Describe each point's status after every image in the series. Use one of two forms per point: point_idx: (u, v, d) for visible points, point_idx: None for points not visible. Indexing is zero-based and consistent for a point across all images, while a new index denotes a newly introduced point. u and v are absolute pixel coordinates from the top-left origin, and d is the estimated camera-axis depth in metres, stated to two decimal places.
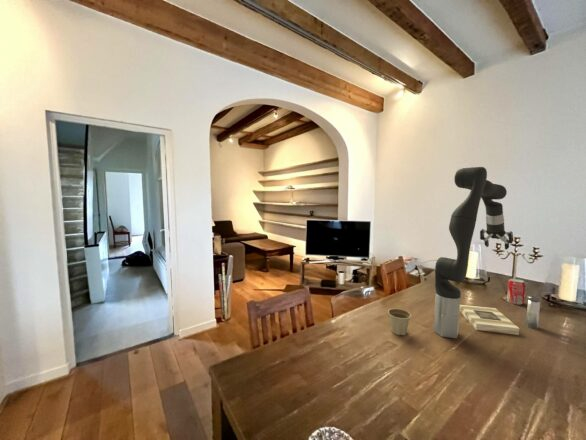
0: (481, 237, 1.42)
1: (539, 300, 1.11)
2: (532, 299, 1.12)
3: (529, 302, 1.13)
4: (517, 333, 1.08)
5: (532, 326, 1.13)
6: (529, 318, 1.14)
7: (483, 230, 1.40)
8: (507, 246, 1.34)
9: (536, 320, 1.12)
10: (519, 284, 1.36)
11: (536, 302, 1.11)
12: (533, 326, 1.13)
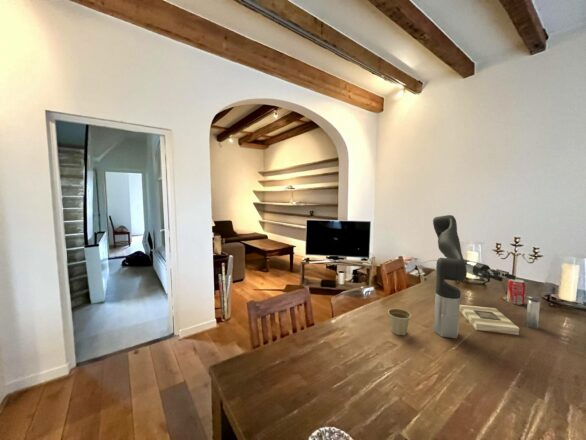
0: (486, 273, 1.28)
1: (539, 300, 1.11)
2: (532, 299, 1.12)
3: (529, 302, 1.13)
4: (517, 333, 1.08)
5: (532, 326, 1.13)
6: (529, 318, 1.14)
7: None
8: None
9: (536, 320, 1.12)
10: (519, 284, 1.36)
11: (536, 302, 1.11)
12: (533, 326, 1.13)
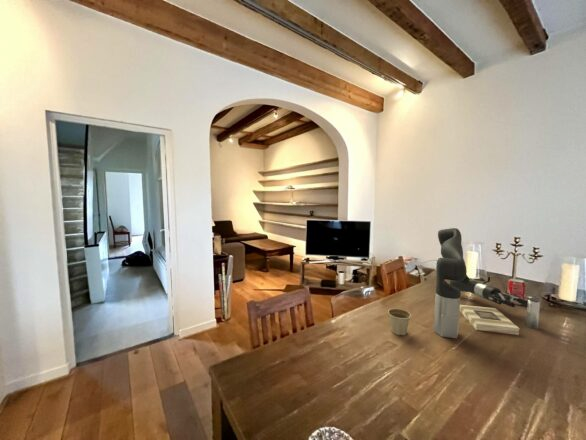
0: (498, 298, 1.22)
1: (539, 300, 1.11)
2: (532, 299, 1.12)
3: (529, 302, 1.13)
4: (517, 333, 1.08)
5: (532, 326, 1.13)
6: (529, 318, 1.14)
7: None
8: None
9: (536, 320, 1.12)
10: (519, 284, 1.36)
11: (536, 302, 1.11)
12: (533, 326, 1.13)
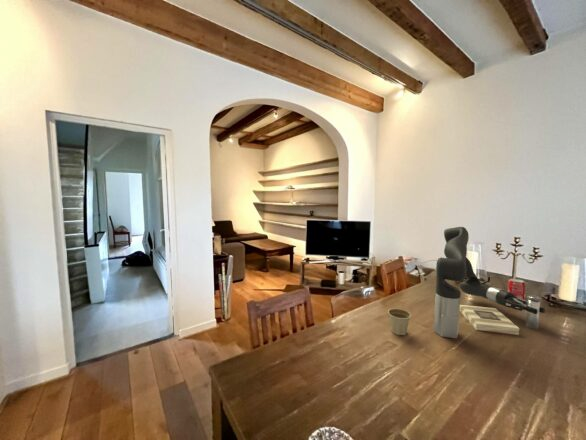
0: (518, 304, 1.15)
1: (539, 300, 1.11)
2: (532, 299, 1.12)
3: (529, 302, 1.13)
4: (517, 333, 1.08)
5: (532, 326, 1.13)
6: (529, 318, 1.14)
7: None
8: None
9: (536, 320, 1.12)
10: (519, 284, 1.36)
11: (536, 302, 1.11)
12: (533, 326, 1.13)
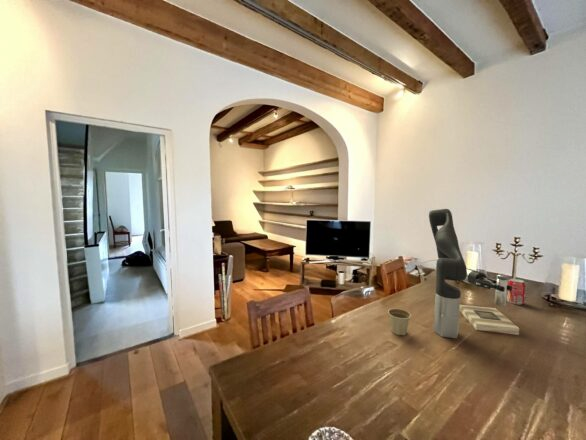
0: (486, 283, 1.18)
1: (506, 278, 1.13)
2: (500, 277, 1.14)
3: (497, 280, 1.16)
4: (517, 333, 1.08)
5: (500, 304, 1.15)
6: (497, 296, 1.16)
7: None
8: None
9: (504, 298, 1.14)
10: (519, 284, 1.36)
11: (503, 280, 1.14)
12: (501, 304, 1.15)
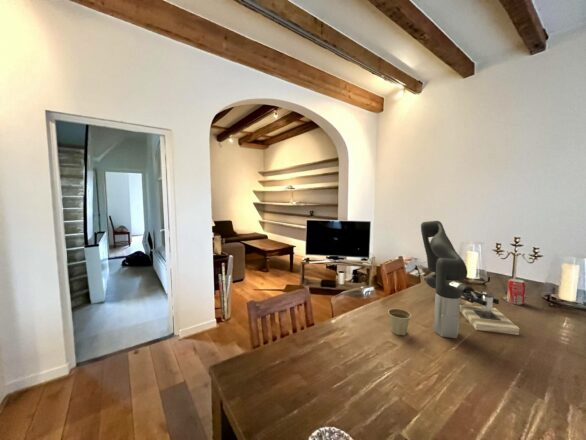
0: (470, 297, 1.20)
1: (492, 295, 1.16)
2: (485, 294, 1.17)
3: (483, 297, 1.18)
4: (517, 333, 1.08)
5: None
6: (483, 313, 1.19)
7: None
8: None
9: (489, 315, 1.17)
10: (519, 284, 1.36)
11: (489, 297, 1.16)
12: None
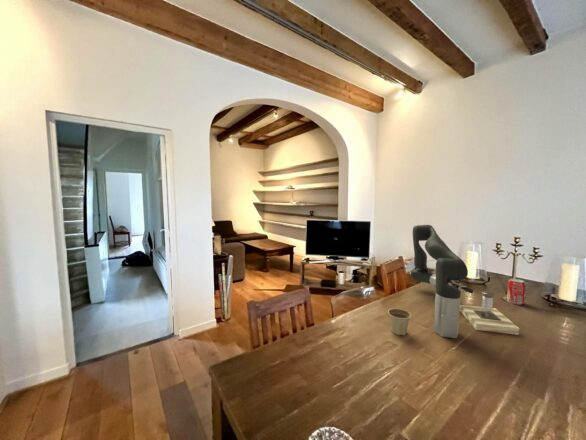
0: None
1: (492, 296, 1.16)
2: (485, 295, 1.17)
3: (483, 298, 1.18)
4: (517, 333, 1.08)
5: None
6: (483, 313, 1.19)
7: None
8: None
9: (489, 315, 1.17)
10: (519, 284, 1.36)
11: (489, 298, 1.16)
12: None
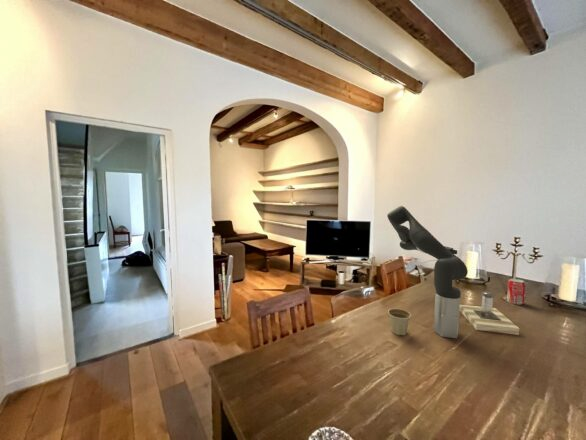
0: None
1: (491, 296, 1.16)
2: (485, 295, 1.17)
3: (483, 298, 1.18)
4: (517, 333, 1.08)
5: None
6: (483, 313, 1.19)
7: None
8: None
9: (489, 315, 1.17)
10: (519, 284, 1.36)
11: (489, 298, 1.16)
12: None
